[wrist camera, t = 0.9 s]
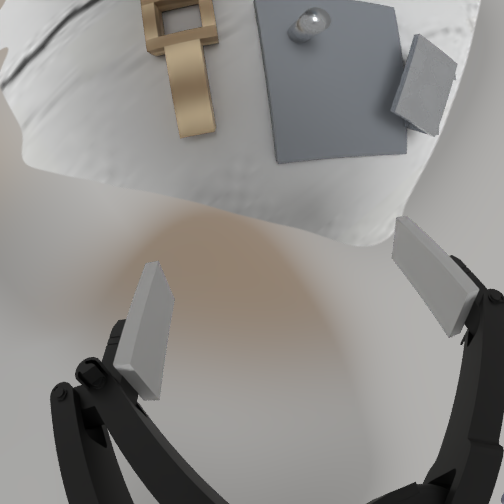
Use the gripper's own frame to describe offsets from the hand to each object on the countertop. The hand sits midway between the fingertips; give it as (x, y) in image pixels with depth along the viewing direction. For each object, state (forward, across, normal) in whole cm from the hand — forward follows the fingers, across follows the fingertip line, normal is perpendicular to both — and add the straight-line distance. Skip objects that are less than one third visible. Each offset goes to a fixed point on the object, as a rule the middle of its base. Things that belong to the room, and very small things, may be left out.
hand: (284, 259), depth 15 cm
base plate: (+21, +12, +9) cm, 25 cm away
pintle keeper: (+21, +15, +9) cm, 27 cm away
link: (+21, -5, +13) cm, 25 cm away
